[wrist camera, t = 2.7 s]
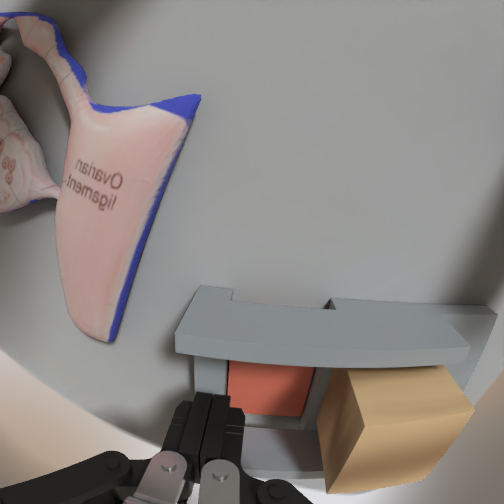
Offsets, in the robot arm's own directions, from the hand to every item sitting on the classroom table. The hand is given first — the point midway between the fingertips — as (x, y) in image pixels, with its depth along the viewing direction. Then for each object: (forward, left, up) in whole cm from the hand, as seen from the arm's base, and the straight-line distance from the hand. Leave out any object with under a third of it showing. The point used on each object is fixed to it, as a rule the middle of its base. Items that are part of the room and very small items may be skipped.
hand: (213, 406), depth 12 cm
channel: (0, +7, -3) cm, 7 cm away
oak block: (0, +8, -2) cm, 8 cm away
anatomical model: (-11, -13, -4) cm, 17 cm away
